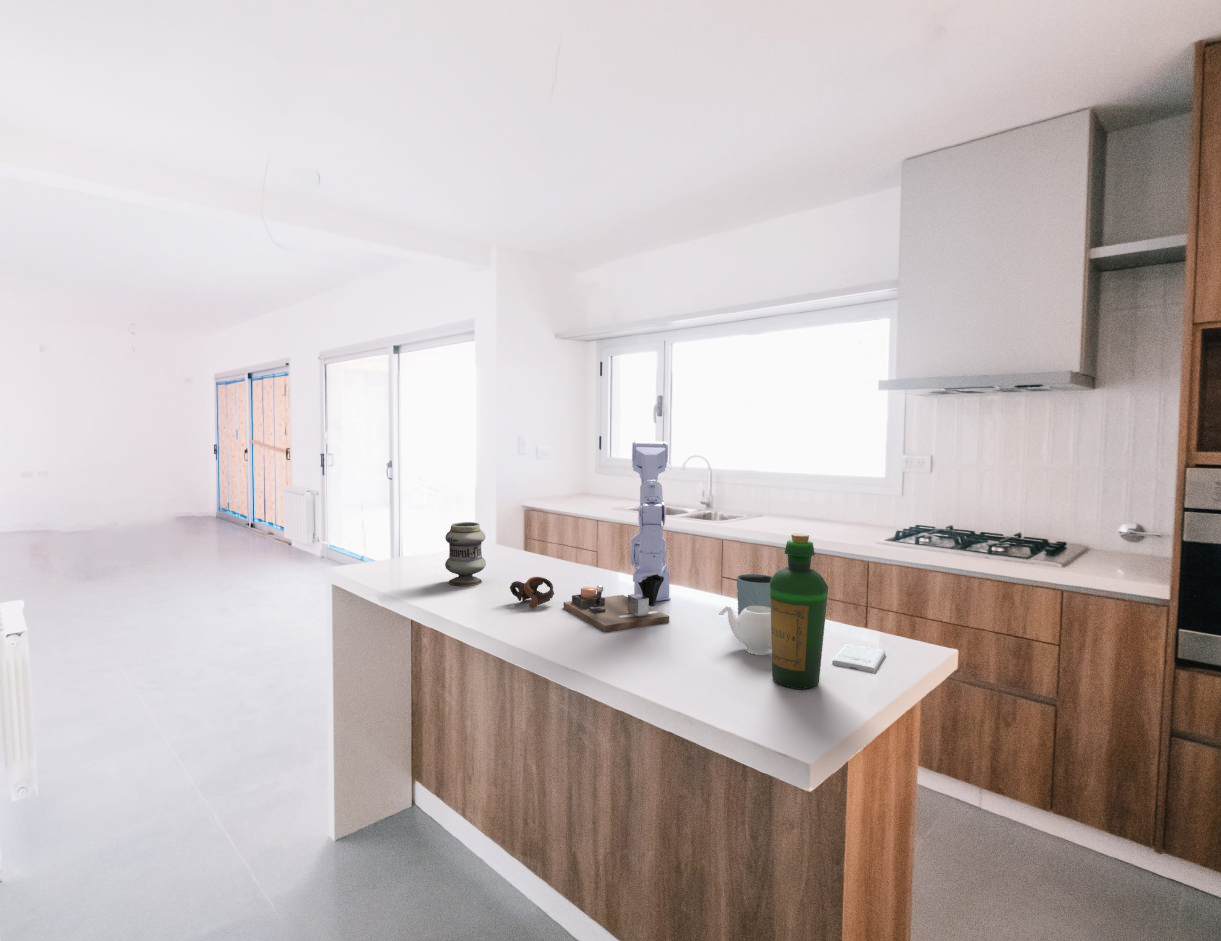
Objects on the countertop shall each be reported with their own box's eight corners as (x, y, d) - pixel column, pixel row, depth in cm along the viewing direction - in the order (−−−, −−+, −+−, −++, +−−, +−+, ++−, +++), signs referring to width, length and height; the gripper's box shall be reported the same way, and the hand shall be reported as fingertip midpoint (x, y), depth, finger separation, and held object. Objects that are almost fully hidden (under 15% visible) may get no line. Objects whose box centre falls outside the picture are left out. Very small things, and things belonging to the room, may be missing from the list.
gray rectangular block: (637, 610, 164) (638, 593, 164) (648, 615, 160) (648, 598, 160) (627, 611, 163) (627, 594, 163) (637, 616, 158) (638, 599, 158)
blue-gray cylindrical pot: (729, 629, 156) (731, 579, 155) (742, 618, 165) (743, 571, 164) (772, 635, 151) (774, 584, 150) (782, 624, 160) (784, 576, 159)
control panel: (622, 600, 181) (622, 587, 180) (669, 622, 161) (669, 608, 160) (563, 607, 172) (563, 594, 172) (604, 631, 152) (605, 617, 152)
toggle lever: (599, 604, 165) (602, 583, 163) (602, 608, 164) (605, 586, 162) (592, 605, 164) (595, 584, 162) (595, 608, 163) (598, 587, 161)
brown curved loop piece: (551, 600, 182) (558, 578, 178) (546, 623, 173) (553, 601, 169) (509, 589, 181) (515, 566, 177) (502, 612, 173) (508, 589, 168)
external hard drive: (884, 657, 139) (874, 675, 129) (845, 650, 144) (831, 666, 133) (885, 650, 139) (874, 667, 129) (845, 642, 144) (832, 659, 133)
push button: (591, 595, 173) (591, 586, 173) (598, 599, 169) (598, 589, 169) (578, 597, 171) (578, 588, 171) (584, 601, 168) (584, 591, 167)
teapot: (728, 636, 150) (729, 596, 149) (811, 657, 137) (813, 613, 136) (706, 646, 143) (707, 604, 142) (791, 669, 130) (793, 623, 129)
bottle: (758, 671, 128) (763, 530, 127) (811, 670, 129) (816, 530, 127) (777, 693, 118) (782, 539, 116) (834, 692, 119) (840, 539, 117)
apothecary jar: (438, 585, 193) (438, 525, 192) (454, 577, 205) (454, 520, 204) (477, 588, 191) (477, 527, 190) (491, 579, 203) (491, 521, 202)
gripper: (650, 545, 170) (649, 596, 171) (622, 554, 158) (621, 609, 159) (674, 548, 167) (673, 600, 167) (648, 557, 154) (647, 613, 155)
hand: (649, 605), depth 163 cm, fingers closed
